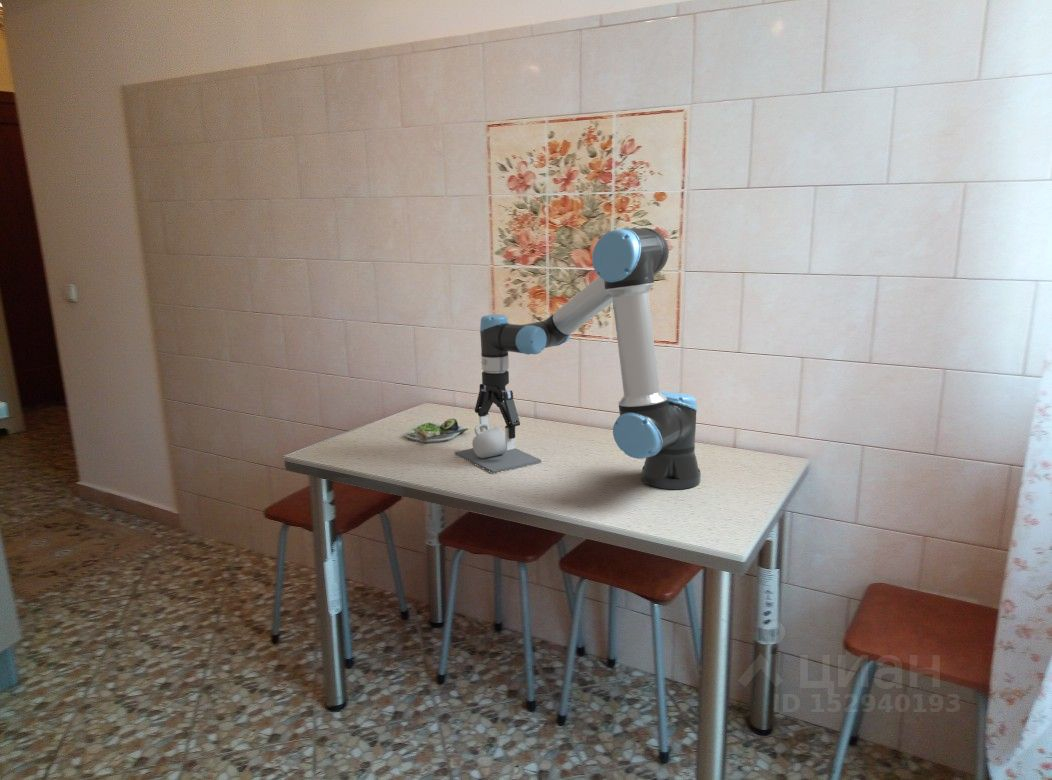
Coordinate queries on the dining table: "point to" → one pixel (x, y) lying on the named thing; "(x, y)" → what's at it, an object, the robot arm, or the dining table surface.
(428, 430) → the avocado toast plate
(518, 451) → the mat
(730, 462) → the dining table surface
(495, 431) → the cup
